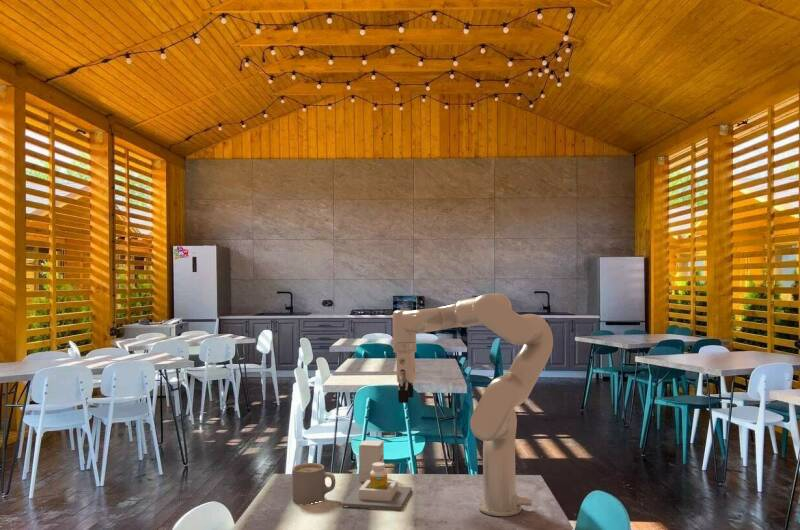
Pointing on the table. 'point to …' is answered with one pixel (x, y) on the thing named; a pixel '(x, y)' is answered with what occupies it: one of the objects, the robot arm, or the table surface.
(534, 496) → the table surface
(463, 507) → the table surface
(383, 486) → the supplement bottle
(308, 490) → the coffee mug
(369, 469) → the supplement box
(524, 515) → the table surface
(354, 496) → the collar board
